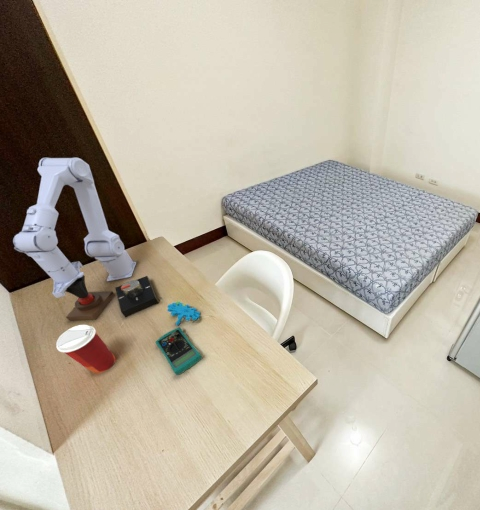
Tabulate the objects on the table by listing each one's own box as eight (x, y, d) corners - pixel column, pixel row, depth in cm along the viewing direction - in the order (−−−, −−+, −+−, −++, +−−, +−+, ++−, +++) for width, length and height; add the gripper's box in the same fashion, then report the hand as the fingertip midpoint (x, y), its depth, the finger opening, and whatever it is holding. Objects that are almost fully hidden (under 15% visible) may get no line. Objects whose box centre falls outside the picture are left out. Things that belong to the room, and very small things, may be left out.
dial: (141, 284, 95) (136, 277, 92) (145, 292, 92) (140, 285, 89) (124, 291, 92) (119, 284, 90) (127, 300, 89) (122, 292, 87)
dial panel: (119, 293, 95) (115, 287, 93) (150, 281, 100) (146, 275, 99) (125, 317, 87) (120, 311, 85) (159, 303, 92) (155, 297, 90)
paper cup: (122, 348, 79) (96, 319, 70) (116, 371, 73) (87, 343, 64) (91, 356, 76) (60, 328, 67) (82, 381, 71) (46, 353, 62)
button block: (91, 296, 94) (85, 288, 91) (115, 295, 95) (109, 287, 92) (69, 321, 85) (62, 313, 83) (96, 320, 86) (89, 312, 84)
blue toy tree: (205, 318, 86) (172, 314, 78) (196, 334, 86) (163, 331, 78) (195, 302, 93) (165, 296, 85) (187, 316, 93) (156, 312, 85)
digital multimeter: (181, 329, 84) (178, 324, 82) (203, 359, 77) (200, 353, 75) (157, 344, 80) (152, 339, 78) (177, 377, 72) (173, 372, 70)
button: (85, 296, 89) (82, 293, 88) (96, 296, 89) (93, 292, 88) (78, 305, 86) (75, 301, 85) (89, 304, 87) (86, 301, 85)
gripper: (63, 278, 74) (91, 309, 82) (82, 249, 84) (105, 278, 93) (31, 284, 72) (63, 315, 80) (55, 253, 82) (81, 283, 91)
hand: (84, 296), depth 87 cm, fingers closed
